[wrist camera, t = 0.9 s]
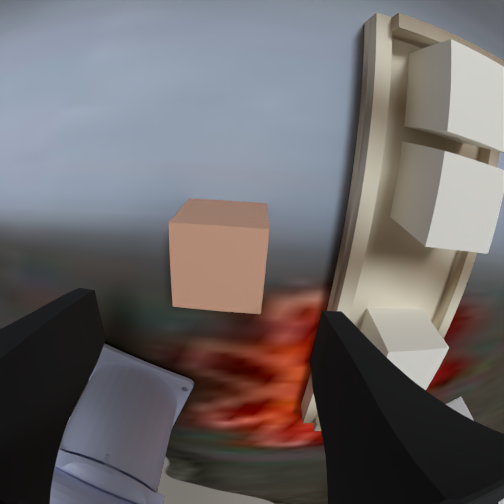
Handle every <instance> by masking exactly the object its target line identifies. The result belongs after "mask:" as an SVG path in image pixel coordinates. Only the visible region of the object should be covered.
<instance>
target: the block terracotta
mask: <svg viewBox="0 0 504 504" xmlns="http://www.w3.org/2000/svg"><path fill="white" fill-rule="evenodd" d="M268 239H269V220H268V210H267V204H266V203H253V202H239V201H223V200H207V199H188V201H187V202H186V203H185V204H184V205H183V206H182V208H181V209H180V210H179V211H178V212H177V213H176V215H175V216H174V217H173V218H172V219H171V220H170V222H169V247H170V270H171V287H172V302H173V307H183V308H193V309H203V310H214V311H226V312H238V313H252V314H261V307H262V298H263V288H264V278H265V269H266V259H267V249H268Z"/></svg>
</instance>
